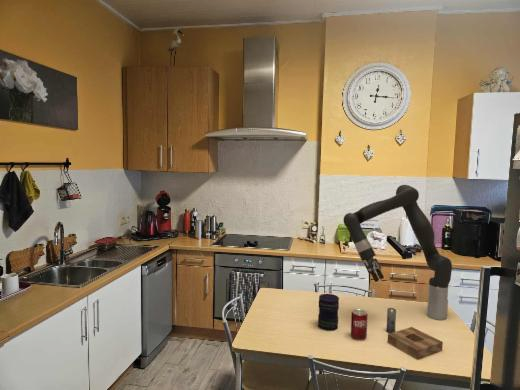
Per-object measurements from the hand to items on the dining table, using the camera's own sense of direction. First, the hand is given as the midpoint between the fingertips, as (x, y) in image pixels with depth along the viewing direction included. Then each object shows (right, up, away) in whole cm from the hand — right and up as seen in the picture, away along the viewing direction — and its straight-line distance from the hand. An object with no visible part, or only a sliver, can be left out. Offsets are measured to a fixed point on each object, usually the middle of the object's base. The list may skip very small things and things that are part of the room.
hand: (379, 280), depth 178 cm
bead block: (+10, -26, -17) cm, 32 cm away
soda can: (-13, -25, -9) cm, 29 cm away
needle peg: (+4, -24, -3) cm, 25 cm away
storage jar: (-26, -24, +1) cm, 35 cm away
